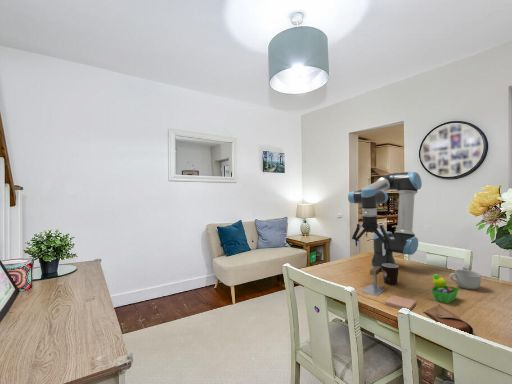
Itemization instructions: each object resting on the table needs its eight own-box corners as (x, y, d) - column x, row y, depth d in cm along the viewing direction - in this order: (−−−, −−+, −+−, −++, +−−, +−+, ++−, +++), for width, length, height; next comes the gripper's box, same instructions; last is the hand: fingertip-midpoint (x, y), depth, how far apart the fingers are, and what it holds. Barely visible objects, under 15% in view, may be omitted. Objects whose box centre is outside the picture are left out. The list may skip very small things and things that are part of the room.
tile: (392, 294, 126) (385, 301, 119) (415, 300, 119) (409, 308, 112) (392, 298, 126) (385, 305, 119) (415, 304, 119) (409, 312, 112)
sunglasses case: (420, 311, 111) (428, 297, 111) (434, 319, 111) (442, 305, 111) (450, 334, 94) (459, 318, 93) (467, 343, 93) (476, 328, 93)
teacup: (475, 284, 139) (474, 270, 139) (486, 292, 129) (485, 276, 129) (444, 282, 144) (444, 268, 144) (453, 289, 133) (452, 274, 133)
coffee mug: (401, 286, 140) (401, 268, 140) (384, 285, 142) (384, 267, 142) (394, 279, 151) (394, 262, 151) (378, 278, 153) (378, 261, 153)
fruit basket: (449, 305, 116) (448, 280, 116) (427, 298, 124) (427, 275, 124) (459, 299, 122) (459, 275, 122) (438, 293, 130) (438, 270, 130)
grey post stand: (372, 283, 146) (371, 264, 146) (387, 286, 140) (386, 267, 140) (361, 292, 134) (360, 271, 134) (377, 296, 128) (376, 275, 128)
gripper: (345, 215, 150) (346, 251, 151) (392, 217, 133) (393, 258, 134) (350, 214, 156) (351, 249, 156) (395, 215, 139) (397, 254, 139)
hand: (371, 253), depth 145 cm, fingers open, 13 cm apart
